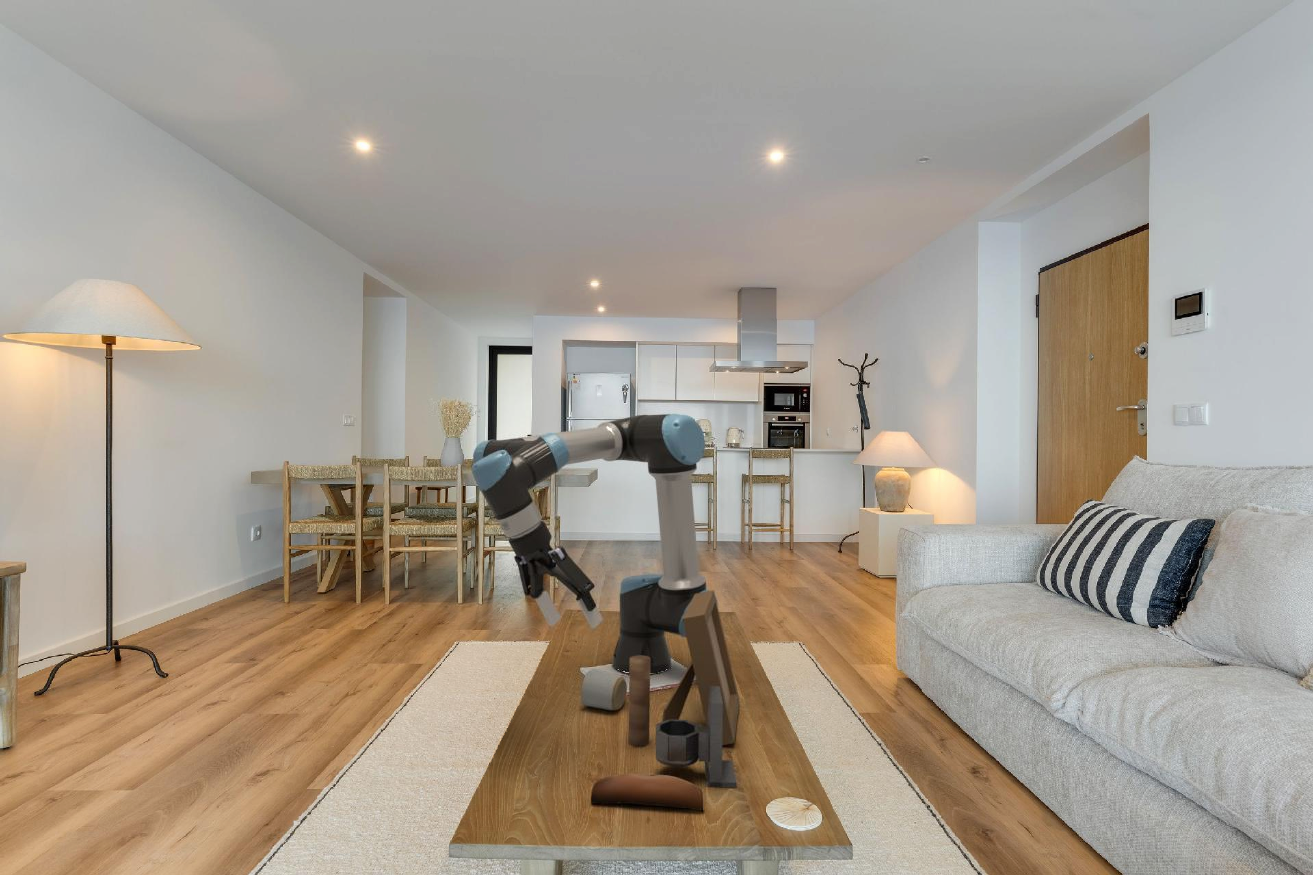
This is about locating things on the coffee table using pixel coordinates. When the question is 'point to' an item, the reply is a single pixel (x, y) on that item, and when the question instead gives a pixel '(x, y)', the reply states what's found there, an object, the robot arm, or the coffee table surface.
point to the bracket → (697, 743)
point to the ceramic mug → (603, 690)
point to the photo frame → (706, 664)
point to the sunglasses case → (647, 791)
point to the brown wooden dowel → (639, 701)
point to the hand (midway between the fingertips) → (575, 623)
